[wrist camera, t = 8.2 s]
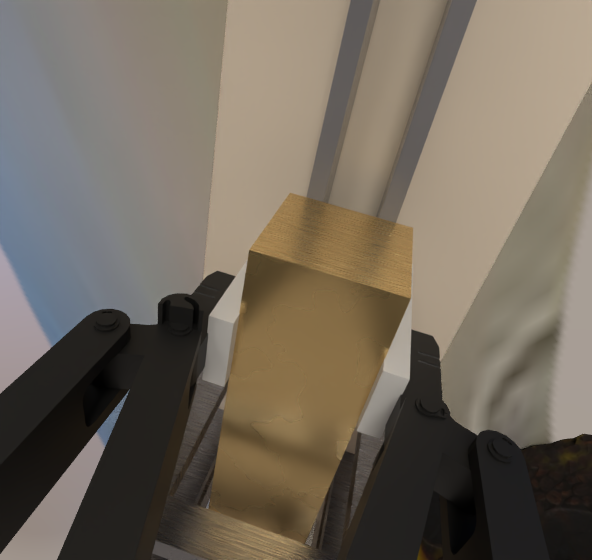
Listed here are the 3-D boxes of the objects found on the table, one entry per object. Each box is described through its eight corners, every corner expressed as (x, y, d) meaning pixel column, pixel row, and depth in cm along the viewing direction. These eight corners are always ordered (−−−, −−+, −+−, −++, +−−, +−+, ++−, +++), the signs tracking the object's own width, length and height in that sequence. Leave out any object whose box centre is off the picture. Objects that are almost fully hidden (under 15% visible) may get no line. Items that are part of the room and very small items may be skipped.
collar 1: (226, 322, 23) (104, 521, 14) (398, 377, 23) (384, 625, 13) (224, 336, 24) (106, 535, 15) (392, 390, 23) (374, 636, 14)
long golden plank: (289, 191, 15) (246, 250, 12) (414, 227, 15) (412, 300, 11) (224, 512, 27) (194, 591, 24) (292, 537, 27) (272, 620, 23)
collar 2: (216, 395, 27) (112, 594, 18) (365, 446, 26) (336, 682, 17) (215, 406, 27) (113, 604, 18) (361, 455, 26) (330, 689, 17)
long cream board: (299, -641, 9) (250, -911, 6) (928, -576, 8) (1184, -871, 5) (190, 463, 31) (169, 505, 29) (350, 520, 30) (344, 569, 28)
